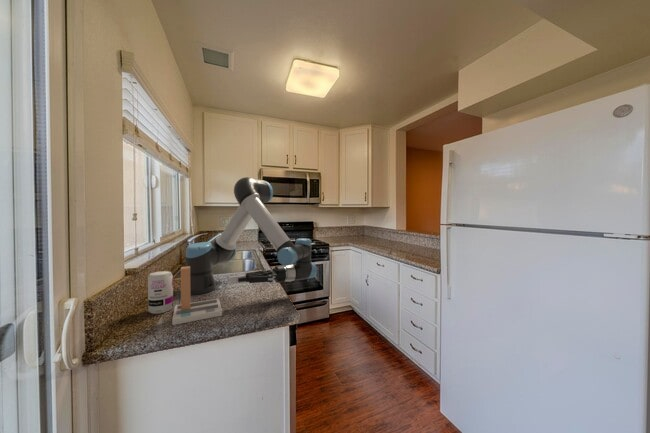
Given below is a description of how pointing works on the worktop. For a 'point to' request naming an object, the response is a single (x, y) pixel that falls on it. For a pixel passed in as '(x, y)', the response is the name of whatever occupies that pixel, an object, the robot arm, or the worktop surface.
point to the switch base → (197, 311)
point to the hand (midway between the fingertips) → (229, 280)
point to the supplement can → (160, 292)
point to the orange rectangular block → (185, 288)
